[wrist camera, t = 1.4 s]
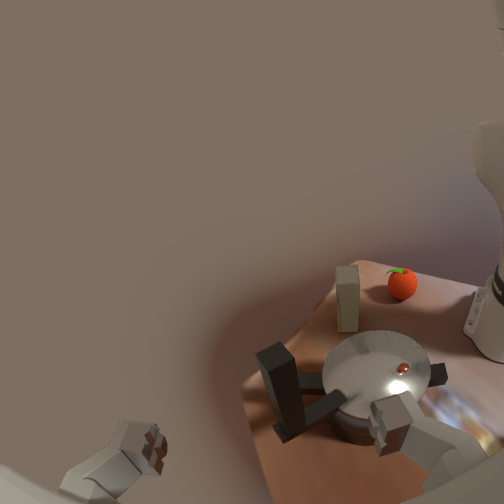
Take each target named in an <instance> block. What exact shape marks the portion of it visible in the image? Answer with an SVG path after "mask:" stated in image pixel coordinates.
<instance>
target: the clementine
mask: <svg viewBox="0 0 504 504" xmlns="http://www.w3.org/2000/svg"><path fill="white" fill-rule="evenodd" d="M389 272H393V273H392V274H391V275H390V277H389V280H388V289H389V291H390V293H391V295H392V296H393V297H395V298H397V299H401V300H404V299H408V298H410V297H411V296H412V295H413V294H414V293H415V291H416V288H417V279H416V276H415V274H414V273H413V272H412V271H411V270H409V269H406V268H400V269H393V270H390V271H388V272H387V273H389ZM387 273H386V274H387ZM384 277H385V276H384Z"/></svg>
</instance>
